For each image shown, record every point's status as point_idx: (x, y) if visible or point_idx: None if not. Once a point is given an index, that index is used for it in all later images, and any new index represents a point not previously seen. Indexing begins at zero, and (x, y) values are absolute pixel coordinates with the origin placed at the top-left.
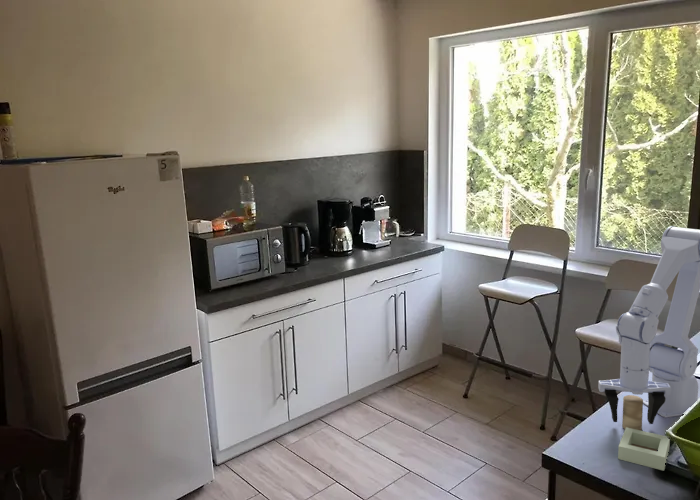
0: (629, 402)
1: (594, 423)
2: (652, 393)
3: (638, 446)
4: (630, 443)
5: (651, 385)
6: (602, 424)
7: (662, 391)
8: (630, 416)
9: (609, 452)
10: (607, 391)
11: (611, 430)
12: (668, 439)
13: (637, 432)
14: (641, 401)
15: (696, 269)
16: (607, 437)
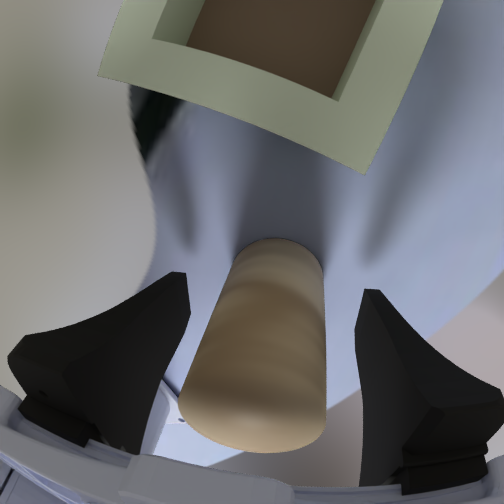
0: (298, 390)
1: (433, 309)
2: (91, 435)
3: (299, 69)
4: (356, 49)
5: (75, 495)
6: (404, 304)
7: (29, 425)
8: (295, 298)
9: (457, 42)
10: (473, 468)
11: (386, 254)
12: (111, 43)
13: (299, 97)
14: (190, 393)
15: None
16: (431, 186)
